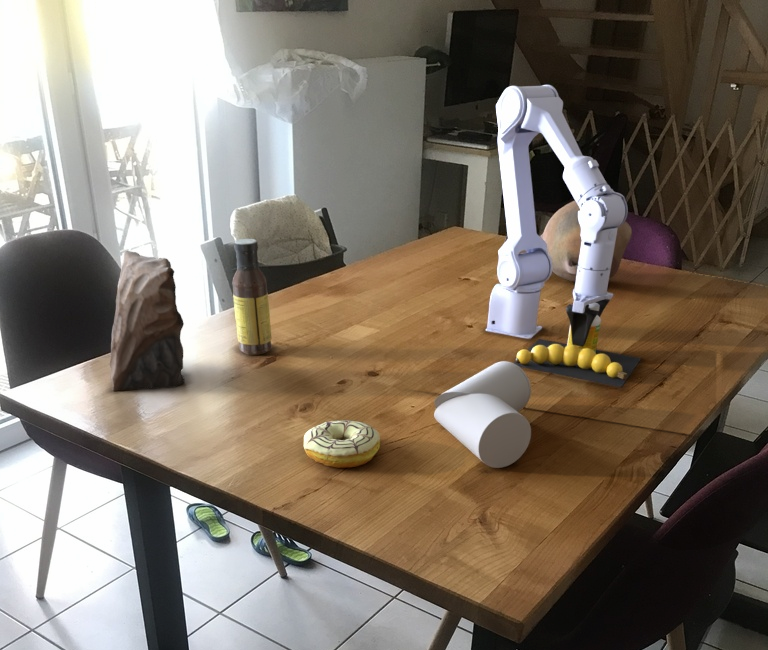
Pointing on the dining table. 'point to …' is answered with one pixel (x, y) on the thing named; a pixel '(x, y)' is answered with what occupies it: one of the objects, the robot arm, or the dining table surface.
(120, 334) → the brown rock
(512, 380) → the bent grey cylinder
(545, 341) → the placemat
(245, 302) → the sauce bottle
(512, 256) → the robot arm
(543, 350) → the yellow lumpy bar
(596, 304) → the supplement bottle
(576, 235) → the jug
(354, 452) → the decorated donut
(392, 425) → the dining table surface
